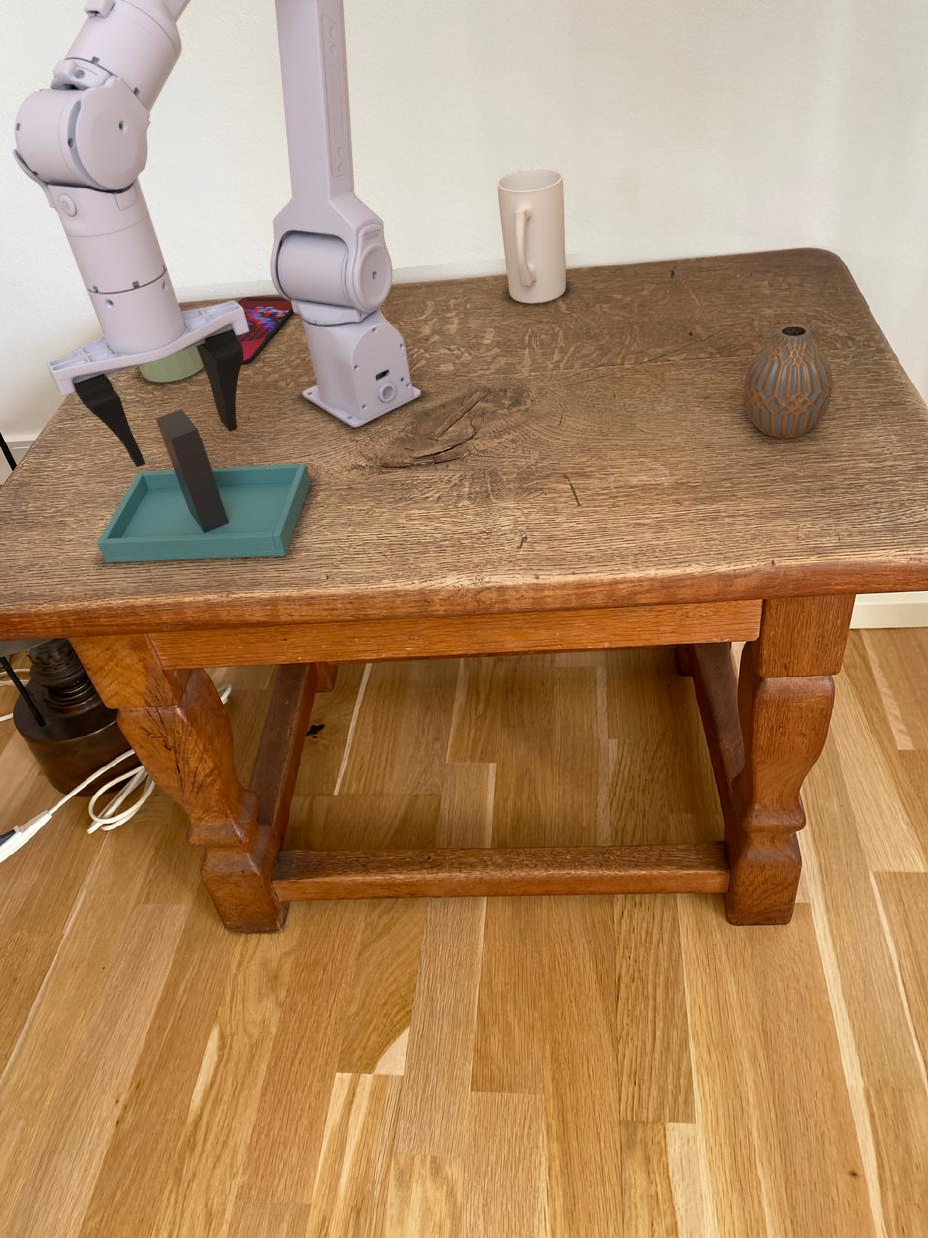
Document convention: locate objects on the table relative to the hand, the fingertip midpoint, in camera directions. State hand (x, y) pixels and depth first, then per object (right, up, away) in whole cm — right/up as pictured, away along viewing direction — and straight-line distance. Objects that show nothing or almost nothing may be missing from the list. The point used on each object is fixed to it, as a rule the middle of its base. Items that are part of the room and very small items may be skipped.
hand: (184, 442), depth 80 cm
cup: (-9, +13, +28) cm, 32 cm away
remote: (+1, -5, +5) cm, 7 cm away
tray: (+1, -6, +5) cm, 8 cm away
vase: (+49, +2, +6) cm, 50 cm away
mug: (+30, +21, +30) cm, 47 cm away
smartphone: (-2, +18, +33) cm, 37 cm away
